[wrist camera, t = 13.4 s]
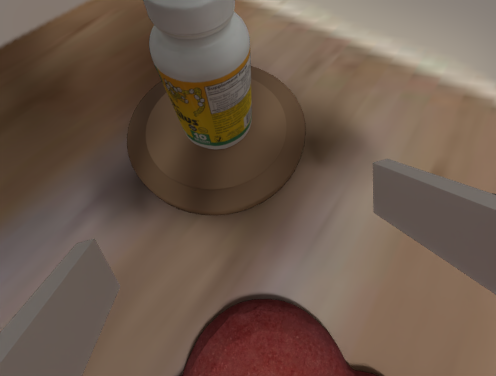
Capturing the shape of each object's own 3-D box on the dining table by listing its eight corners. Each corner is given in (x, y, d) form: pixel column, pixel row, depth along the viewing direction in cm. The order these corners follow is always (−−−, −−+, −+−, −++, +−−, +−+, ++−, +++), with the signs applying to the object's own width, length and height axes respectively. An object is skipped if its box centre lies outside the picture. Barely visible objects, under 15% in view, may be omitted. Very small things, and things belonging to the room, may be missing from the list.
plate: (118, 216, 18) (108, 211, 17) (147, 74, 23) (141, 62, 22) (312, 213, 18) (316, 207, 16) (295, 71, 23) (297, 58, 22)
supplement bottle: (265, 130, 19) (274, -13, 10) (204, 164, 18) (154, 38, 9) (229, 86, 21) (210, -67, 12) (171, 115, 20) (104, -30, 11)
